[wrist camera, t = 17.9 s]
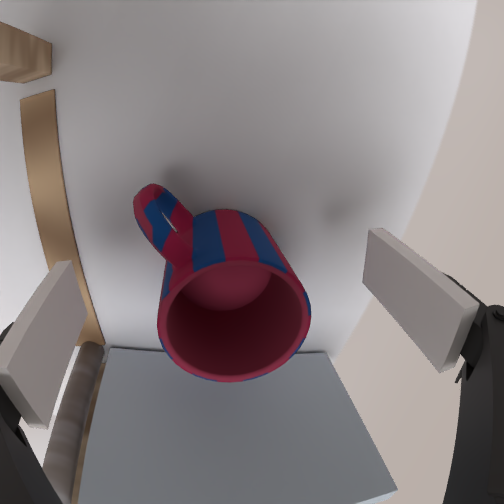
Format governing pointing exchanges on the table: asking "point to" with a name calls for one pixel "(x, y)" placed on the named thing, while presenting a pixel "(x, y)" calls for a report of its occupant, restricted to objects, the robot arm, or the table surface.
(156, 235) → the mug
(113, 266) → the table surface
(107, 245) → the table surface
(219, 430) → the door
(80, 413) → the doorframe
